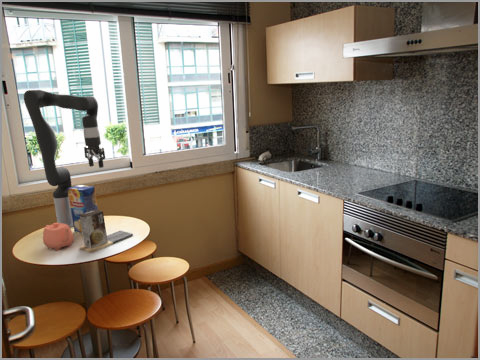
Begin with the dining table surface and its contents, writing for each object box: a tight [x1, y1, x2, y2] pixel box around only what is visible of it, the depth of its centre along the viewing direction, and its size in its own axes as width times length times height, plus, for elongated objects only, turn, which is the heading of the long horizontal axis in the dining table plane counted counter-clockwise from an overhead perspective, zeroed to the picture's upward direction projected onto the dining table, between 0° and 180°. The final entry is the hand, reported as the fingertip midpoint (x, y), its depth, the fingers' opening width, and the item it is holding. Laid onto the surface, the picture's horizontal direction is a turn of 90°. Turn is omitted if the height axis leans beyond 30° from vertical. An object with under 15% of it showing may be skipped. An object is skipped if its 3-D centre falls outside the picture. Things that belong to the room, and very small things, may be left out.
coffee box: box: [79, 209, 108, 249], centre depth 186 cm, size 9×6×16 cm
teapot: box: [42, 222, 75, 252], centre depth 189 cm, size 20×12×12 cm, turn 56°
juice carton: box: [67, 184, 99, 234], centre depth 208 cm, size 12×8×24 cm, turn 62°
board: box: [78, 230, 134, 254], centre depth 193 cm, size 10×24×1 cm, turn 144°
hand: (96, 166), depth 205 cm, fingers open, 8 cm apart
